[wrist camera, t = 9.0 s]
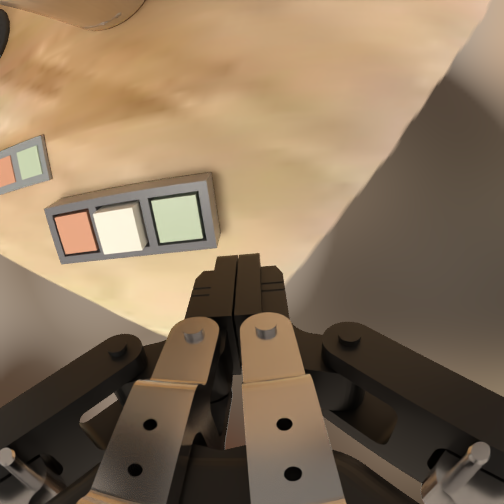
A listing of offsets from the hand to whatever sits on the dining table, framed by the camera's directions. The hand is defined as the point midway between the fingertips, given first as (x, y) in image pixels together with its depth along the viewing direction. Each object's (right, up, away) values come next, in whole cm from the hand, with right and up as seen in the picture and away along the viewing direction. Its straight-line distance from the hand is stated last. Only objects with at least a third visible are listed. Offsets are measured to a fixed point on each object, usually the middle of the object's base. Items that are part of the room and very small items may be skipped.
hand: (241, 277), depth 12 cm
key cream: (-12, +4, +18) cm, 21 cm away
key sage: (-6, +5, +18) cm, 20 cm away
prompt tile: (-26, +11, +17) cm, 33 cm away
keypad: (-12, +5, +20) cm, 23 cm away
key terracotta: (-17, +4, +19) cm, 26 cm away
